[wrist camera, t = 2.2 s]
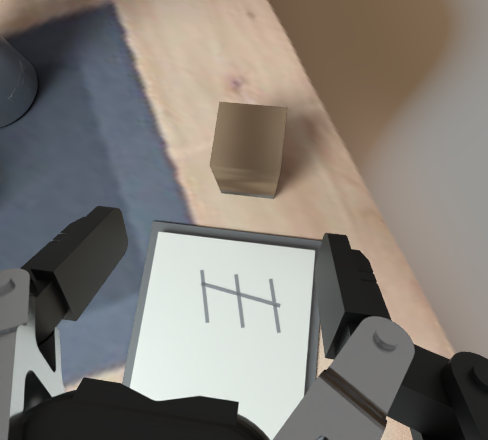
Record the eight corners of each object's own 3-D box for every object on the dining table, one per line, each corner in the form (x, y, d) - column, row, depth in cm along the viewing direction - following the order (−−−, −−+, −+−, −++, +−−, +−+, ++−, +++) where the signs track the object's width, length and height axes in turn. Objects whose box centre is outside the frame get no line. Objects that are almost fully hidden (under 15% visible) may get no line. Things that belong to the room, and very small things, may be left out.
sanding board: (97, 519, 22) (89, 531, 21) (153, 221, 26) (149, 219, 25) (302, 558, 21) (304, 573, 20) (324, 241, 25) (327, 240, 24)
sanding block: (221, 193, 26) (209, 165, 19) (228, 144, 27) (219, 101, 20) (273, 198, 26) (280, 172, 19) (279, 149, 27) (287, 107, 20)
